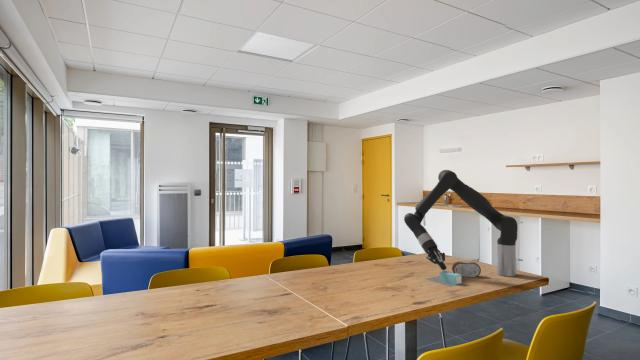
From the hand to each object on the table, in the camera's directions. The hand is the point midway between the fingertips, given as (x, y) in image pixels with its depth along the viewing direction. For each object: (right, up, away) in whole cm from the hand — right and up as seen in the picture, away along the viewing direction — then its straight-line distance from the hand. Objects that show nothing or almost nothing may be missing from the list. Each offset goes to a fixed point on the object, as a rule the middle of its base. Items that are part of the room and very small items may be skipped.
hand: (444, 269), depth 192 cm
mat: (0, -6, -1) cm, 6 cm away
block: (-1, -4, +1) cm, 4 cm away
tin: (+15, -7, +9) cm, 19 cm away
